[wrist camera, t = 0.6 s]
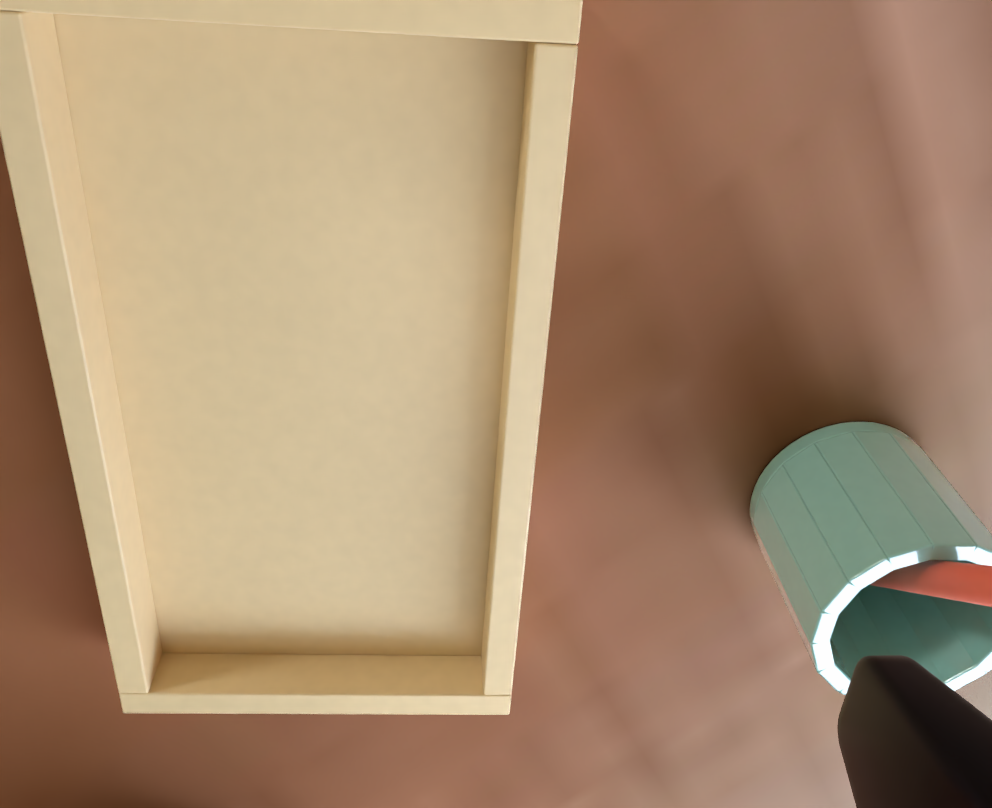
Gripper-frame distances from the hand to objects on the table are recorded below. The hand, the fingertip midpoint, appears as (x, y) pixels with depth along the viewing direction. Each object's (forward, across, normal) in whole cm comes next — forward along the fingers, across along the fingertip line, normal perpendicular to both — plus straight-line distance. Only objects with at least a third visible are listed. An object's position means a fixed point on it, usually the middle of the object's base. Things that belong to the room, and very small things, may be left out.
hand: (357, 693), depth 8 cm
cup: (+14, -12, +8) cm, 20 cm away
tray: (+14, +2, +5) cm, 15 cm away
